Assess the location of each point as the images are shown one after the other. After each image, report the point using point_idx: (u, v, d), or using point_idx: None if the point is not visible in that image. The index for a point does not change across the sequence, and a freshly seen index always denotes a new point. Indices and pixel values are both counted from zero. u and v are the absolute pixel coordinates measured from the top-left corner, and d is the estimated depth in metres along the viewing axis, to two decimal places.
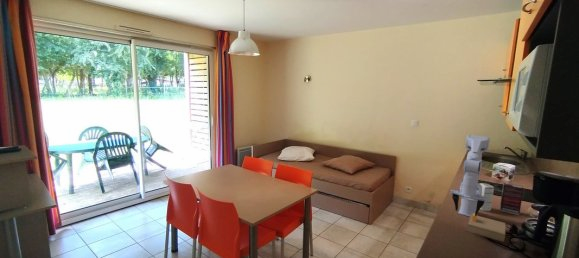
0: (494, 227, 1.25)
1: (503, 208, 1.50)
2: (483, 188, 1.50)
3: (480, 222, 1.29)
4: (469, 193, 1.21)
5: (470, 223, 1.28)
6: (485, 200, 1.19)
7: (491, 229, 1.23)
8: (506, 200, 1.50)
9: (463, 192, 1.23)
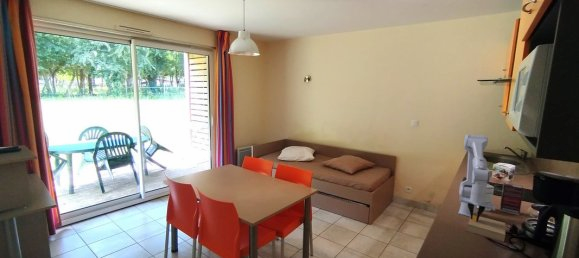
0: (494, 227, 1.25)
1: (503, 208, 1.50)
2: None
3: (480, 222, 1.29)
4: (477, 200, 1.28)
5: (470, 223, 1.28)
6: (493, 207, 1.25)
7: (491, 229, 1.23)
8: (506, 200, 1.50)
9: (472, 200, 1.30)
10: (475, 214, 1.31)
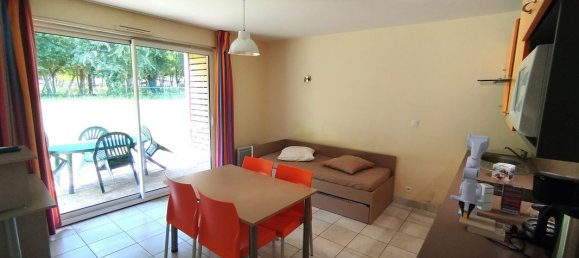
0: (484, 225, 1.27)
1: (503, 208, 1.50)
2: (483, 188, 1.50)
3: (470, 219, 1.32)
4: (468, 198, 1.30)
5: (461, 220, 1.30)
6: (483, 205, 1.28)
7: (481, 226, 1.25)
8: (506, 200, 1.50)
9: (462, 197, 1.32)
10: (466, 212, 1.34)
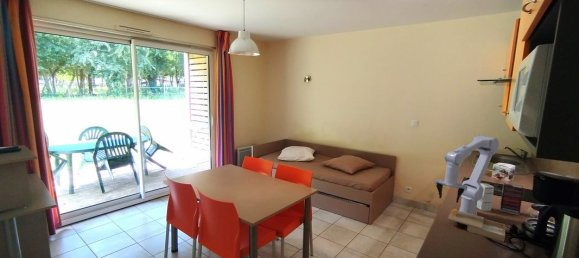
0: (472, 221, 1.30)
1: (503, 208, 1.50)
2: (483, 188, 1.50)
3: (459, 216, 1.35)
4: (451, 182, 1.35)
5: (450, 217, 1.33)
6: (465, 188, 1.33)
7: (469, 223, 1.28)
8: (506, 200, 1.50)
9: (446, 181, 1.37)
10: (455, 209, 1.36)
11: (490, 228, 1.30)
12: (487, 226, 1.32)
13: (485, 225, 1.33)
